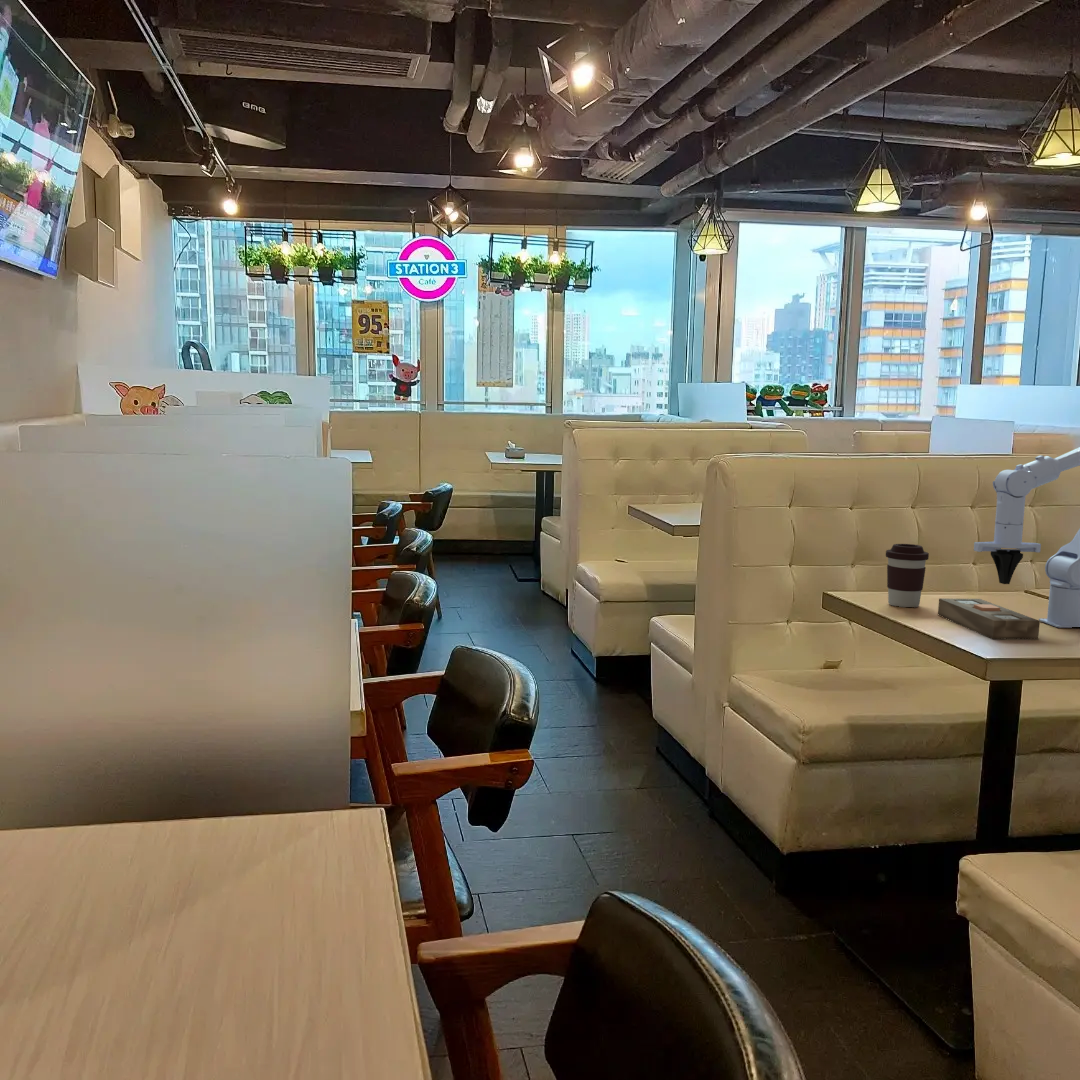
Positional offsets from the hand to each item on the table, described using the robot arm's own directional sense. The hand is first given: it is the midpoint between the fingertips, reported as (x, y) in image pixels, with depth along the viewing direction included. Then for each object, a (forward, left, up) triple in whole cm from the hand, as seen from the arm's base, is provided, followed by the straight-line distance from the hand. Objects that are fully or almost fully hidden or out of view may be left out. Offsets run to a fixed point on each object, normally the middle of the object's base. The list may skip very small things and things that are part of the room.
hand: (1004, 583), depth 225 cm
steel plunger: (+5, -6, -8) cm, 12 cm away
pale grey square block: (+5, +11, -8) cm, 15 cm away
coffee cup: (+13, -22, -10) cm, 27 cm away
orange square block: (+5, +2, -8) cm, 10 cm away
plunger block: (+5, +3, -9) cm, 11 cm away
